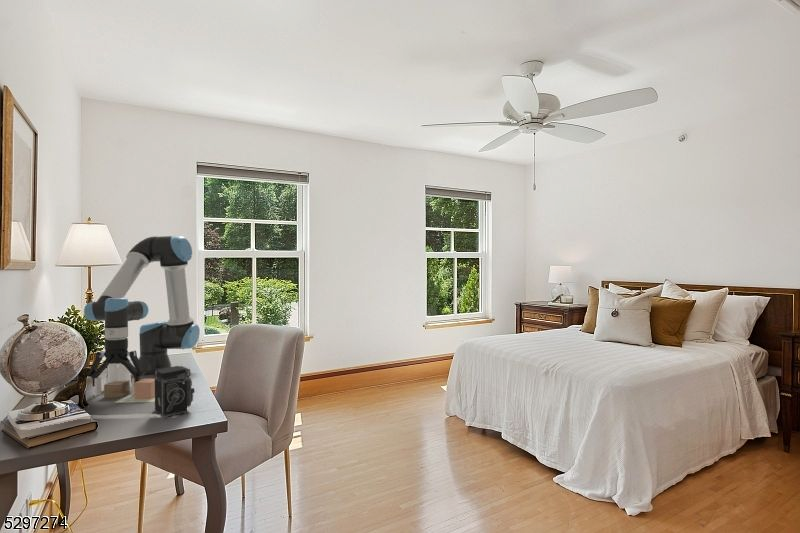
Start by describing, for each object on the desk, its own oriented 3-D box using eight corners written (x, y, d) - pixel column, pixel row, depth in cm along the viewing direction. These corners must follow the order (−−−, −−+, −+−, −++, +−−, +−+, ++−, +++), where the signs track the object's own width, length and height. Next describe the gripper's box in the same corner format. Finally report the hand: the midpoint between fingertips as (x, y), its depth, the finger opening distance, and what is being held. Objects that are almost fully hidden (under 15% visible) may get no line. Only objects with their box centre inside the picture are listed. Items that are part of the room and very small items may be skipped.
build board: (136, 395, 176) (136, 391, 176) (178, 394, 177) (177, 391, 177) (114, 405, 162) (114, 402, 162) (159, 405, 163) (159, 401, 163)
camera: (197, 412, 154) (196, 368, 154) (163, 420, 146) (162, 373, 146) (185, 406, 161) (185, 363, 161) (153, 413, 154) (152, 368, 154)
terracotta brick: (143, 394, 172) (143, 378, 172) (159, 394, 172) (159, 378, 173) (134, 399, 166) (134, 382, 166) (151, 398, 166) (151, 382, 167)
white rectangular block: (127, 391, 182) (127, 361, 182) (102, 393, 179) (102, 363, 179) (133, 384, 193) (133, 356, 193) (110, 386, 190) (109, 357, 190)
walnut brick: (114, 396, 175) (114, 380, 175) (129, 396, 175) (129, 380, 175) (104, 400, 169) (104, 384, 169) (120, 400, 169) (120, 384, 169)
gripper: (76, 340, 169) (75, 397, 168) (144, 339, 169) (144, 396, 168) (89, 337, 176) (89, 392, 176) (155, 336, 176) (155, 391, 176)
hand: (116, 395), depth 172 cm, fingers open, 13 cm apart
